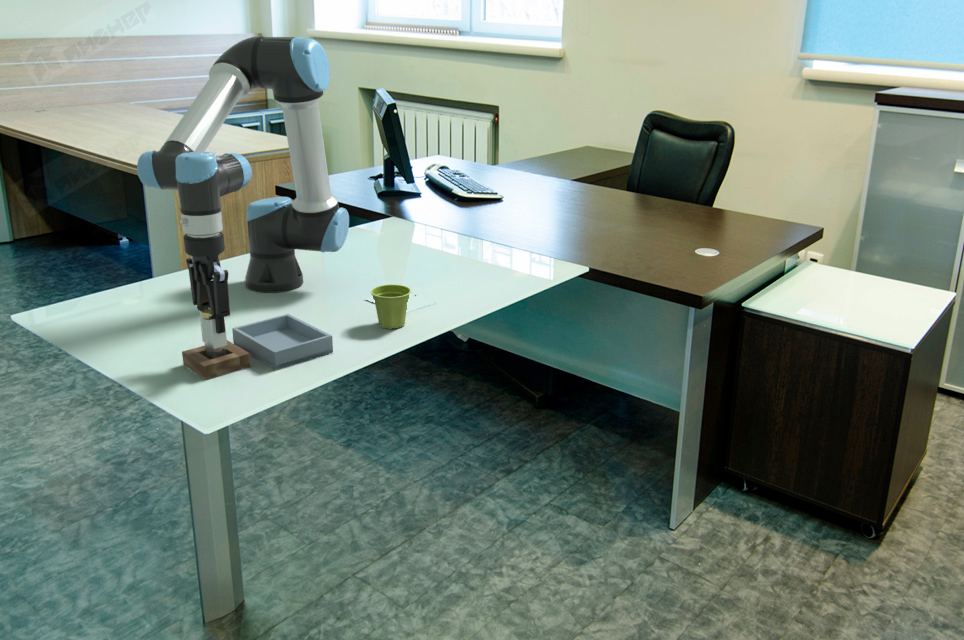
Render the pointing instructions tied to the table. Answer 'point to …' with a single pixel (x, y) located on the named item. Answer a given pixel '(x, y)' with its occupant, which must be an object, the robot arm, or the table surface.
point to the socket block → (216, 361)
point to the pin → (210, 337)
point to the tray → (282, 341)
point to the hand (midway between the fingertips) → (214, 343)
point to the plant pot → (391, 304)
